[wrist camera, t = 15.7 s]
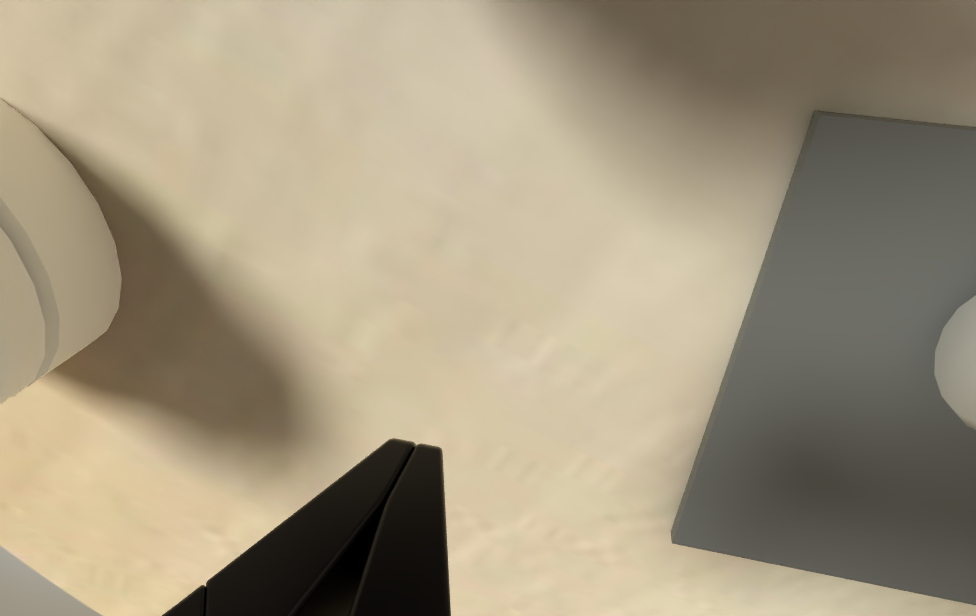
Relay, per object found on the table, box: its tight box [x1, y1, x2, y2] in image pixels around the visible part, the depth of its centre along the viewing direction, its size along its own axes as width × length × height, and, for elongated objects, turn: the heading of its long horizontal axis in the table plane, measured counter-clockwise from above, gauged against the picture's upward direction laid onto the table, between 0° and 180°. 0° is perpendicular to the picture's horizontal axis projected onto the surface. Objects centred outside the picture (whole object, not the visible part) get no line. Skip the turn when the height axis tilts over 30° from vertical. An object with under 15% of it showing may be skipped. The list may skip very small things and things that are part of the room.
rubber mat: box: [671, 111, 976, 605], centre depth 20 cm, size 18×14×1 cm
